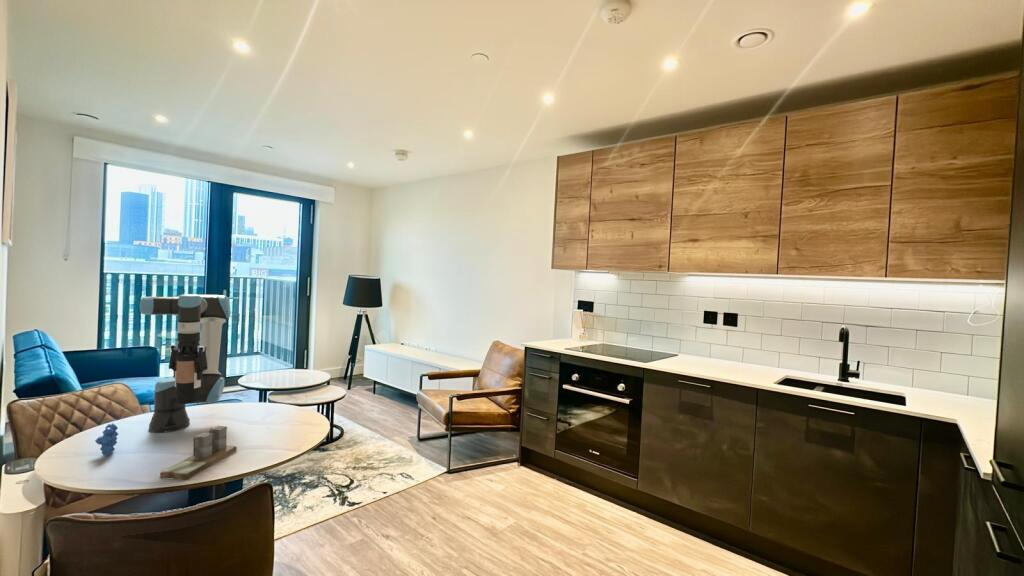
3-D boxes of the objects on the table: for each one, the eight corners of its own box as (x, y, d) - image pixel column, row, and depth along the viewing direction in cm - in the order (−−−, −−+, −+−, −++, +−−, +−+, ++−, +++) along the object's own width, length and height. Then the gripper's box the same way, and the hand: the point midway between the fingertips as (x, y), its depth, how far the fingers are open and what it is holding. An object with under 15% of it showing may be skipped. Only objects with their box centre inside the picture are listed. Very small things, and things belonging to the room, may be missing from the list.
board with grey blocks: (160, 477, 158) (160, 448, 157) (213, 449, 184) (214, 423, 183) (186, 480, 157) (186, 450, 157) (236, 450, 183) (237, 425, 183)
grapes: (100, 449, 178) (100, 421, 177) (121, 447, 181) (122, 419, 180) (89, 461, 167) (89, 430, 167) (112, 458, 171) (112, 428, 170)
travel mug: (180, 405, 174) (181, 356, 174) (172, 401, 179) (173, 353, 178) (202, 401, 181) (203, 353, 180) (193, 397, 185) (194, 351, 184)
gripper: (157, 331, 175) (156, 387, 176) (205, 334, 174) (204, 391, 175) (173, 329, 183) (172, 382, 184) (219, 332, 182) (218, 386, 183)
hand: (187, 386), depth 180 cm, fingers closed on travel mug, 8 cm apart
